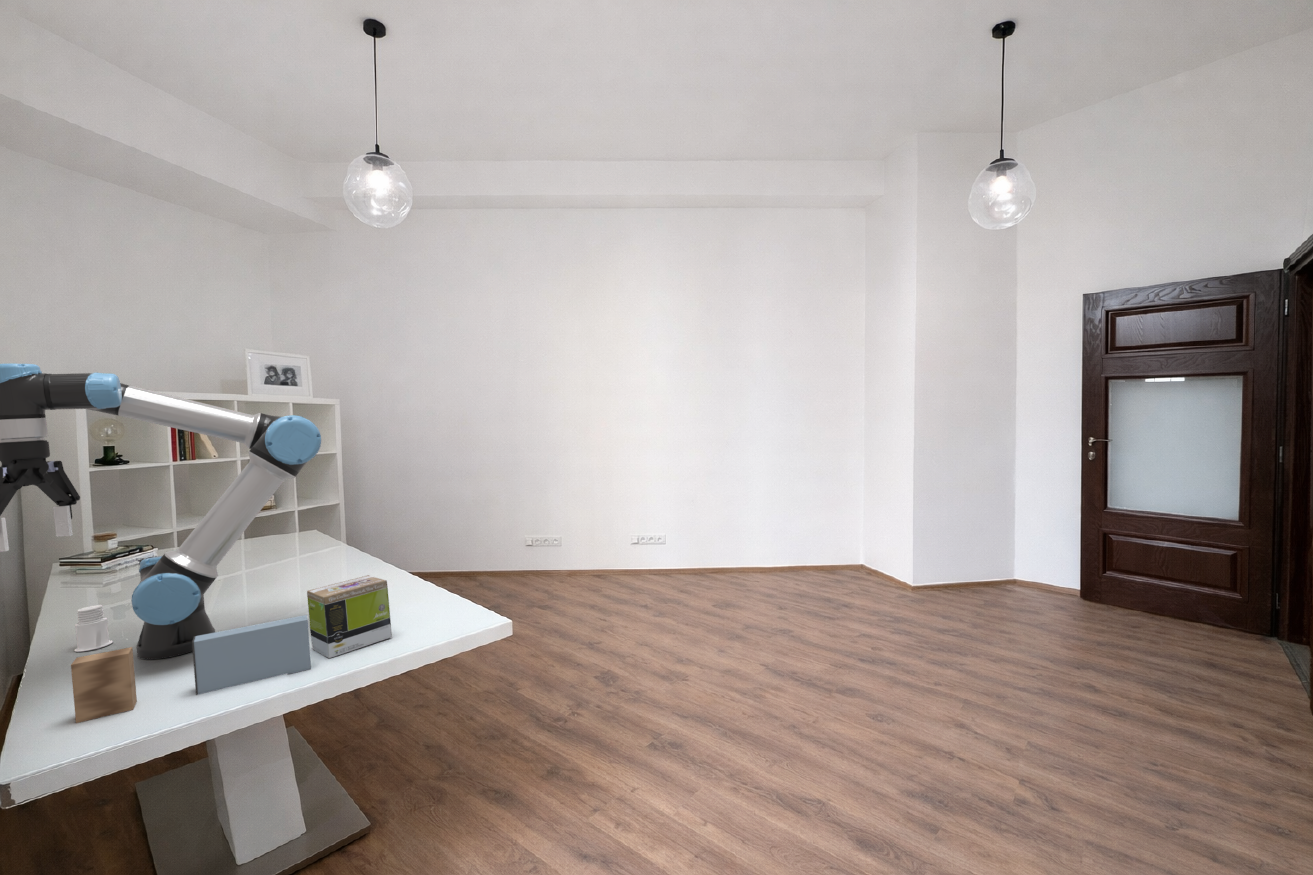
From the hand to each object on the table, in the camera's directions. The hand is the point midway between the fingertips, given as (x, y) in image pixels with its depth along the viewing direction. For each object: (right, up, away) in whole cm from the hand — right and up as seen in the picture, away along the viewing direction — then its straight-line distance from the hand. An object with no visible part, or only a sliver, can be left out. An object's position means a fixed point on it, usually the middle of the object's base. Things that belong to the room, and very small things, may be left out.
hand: (34, 543), depth 122 cm
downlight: (-13, -31, +27) cm, 43 cm away
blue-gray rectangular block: (+43, -30, +4) cm, 52 cm away
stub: (+23, -31, -8) cm, 39 cm away
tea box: (+54, -29, +22) cm, 65 cm away
